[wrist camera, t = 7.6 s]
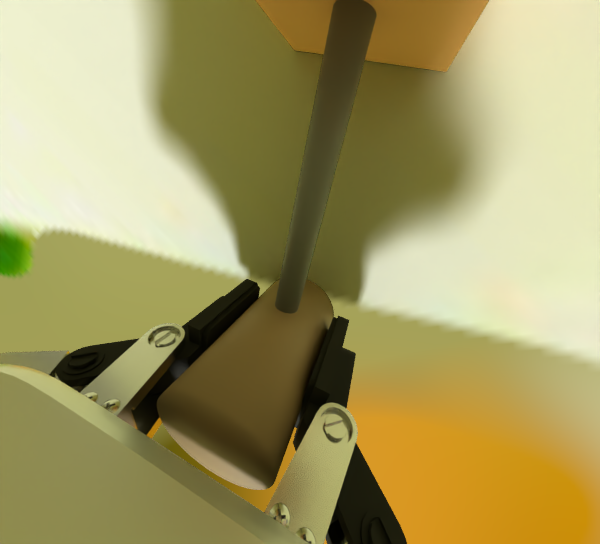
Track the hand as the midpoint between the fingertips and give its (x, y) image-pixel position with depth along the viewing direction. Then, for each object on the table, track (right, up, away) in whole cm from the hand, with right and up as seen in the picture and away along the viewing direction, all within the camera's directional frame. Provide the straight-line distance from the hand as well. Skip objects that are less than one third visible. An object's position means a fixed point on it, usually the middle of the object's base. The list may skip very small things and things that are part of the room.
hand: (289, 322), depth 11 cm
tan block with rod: (+2, +6, -2) cm, 7 cm away
